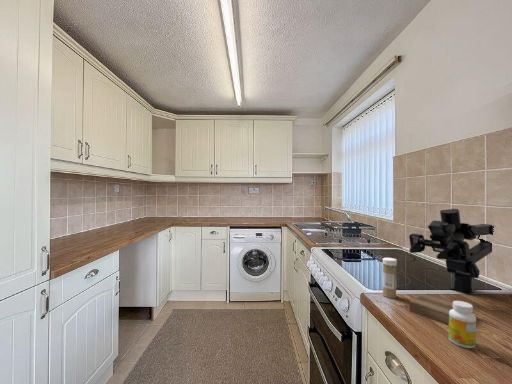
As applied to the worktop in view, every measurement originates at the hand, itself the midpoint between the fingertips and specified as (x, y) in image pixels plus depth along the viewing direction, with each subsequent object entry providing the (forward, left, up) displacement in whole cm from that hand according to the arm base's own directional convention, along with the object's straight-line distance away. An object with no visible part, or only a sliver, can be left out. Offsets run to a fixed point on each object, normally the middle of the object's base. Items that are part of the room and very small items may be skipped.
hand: (423, 254), depth 90 cm
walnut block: (+5, +7, -16) cm, 19 cm away
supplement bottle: (+18, +17, -17) cm, 30 cm away
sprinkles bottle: (+5, -9, -17) cm, 19 cm away
